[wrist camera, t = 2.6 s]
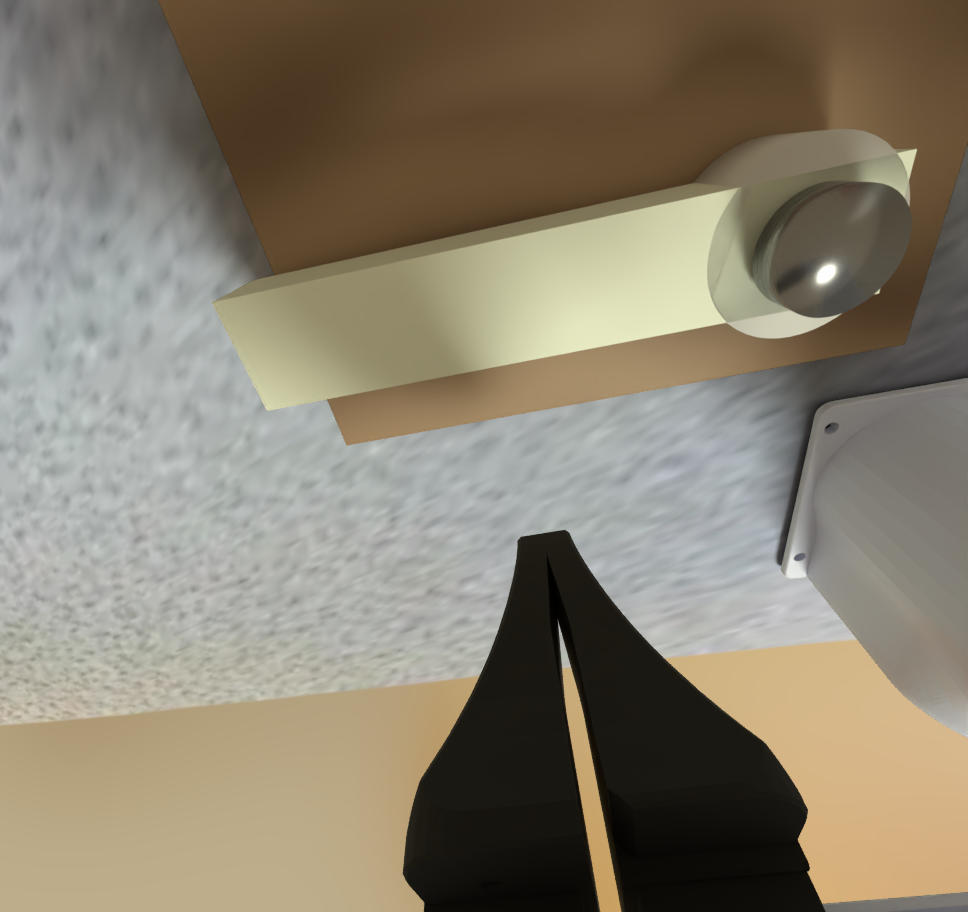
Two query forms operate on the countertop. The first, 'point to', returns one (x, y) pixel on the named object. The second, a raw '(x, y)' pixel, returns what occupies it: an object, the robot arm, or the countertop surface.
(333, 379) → the bar
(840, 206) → the cylinder
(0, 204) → the countertop surface
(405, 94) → the base board
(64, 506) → the countertop surface
